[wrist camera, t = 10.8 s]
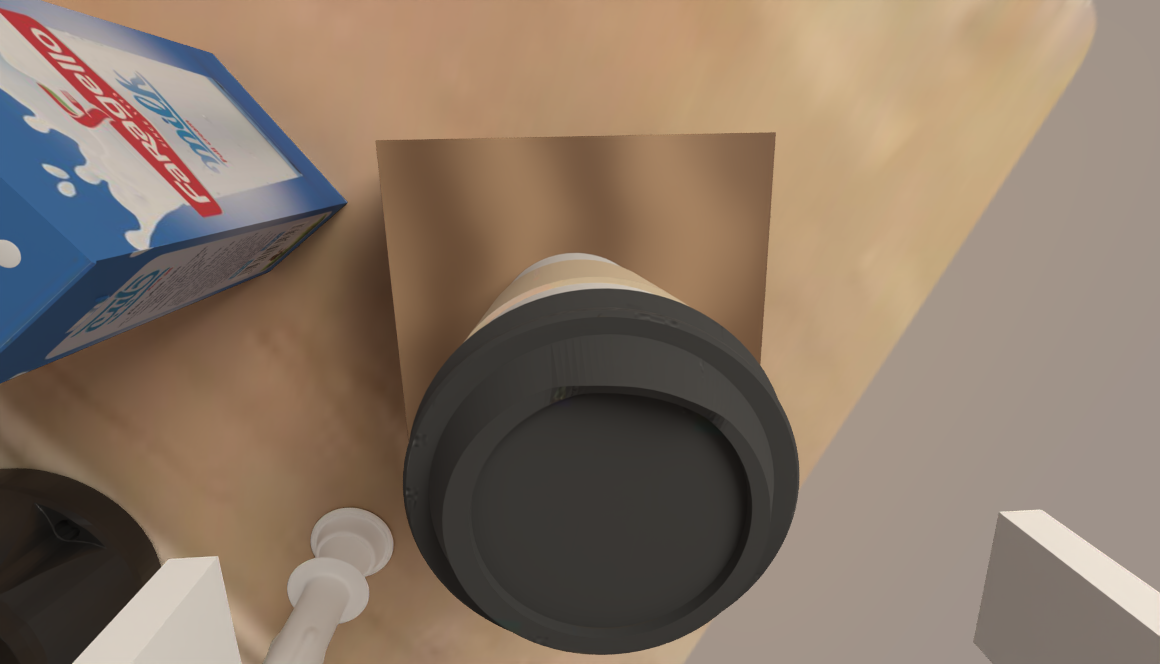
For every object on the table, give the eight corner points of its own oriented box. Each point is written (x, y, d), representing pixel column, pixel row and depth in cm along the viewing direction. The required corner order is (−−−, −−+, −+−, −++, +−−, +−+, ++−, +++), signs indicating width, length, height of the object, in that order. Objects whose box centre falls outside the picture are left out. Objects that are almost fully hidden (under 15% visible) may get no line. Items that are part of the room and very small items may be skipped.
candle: (410, 543, 40) (357, 698, 29) (354, 589, 41) (280, 758, 30) (351, 491, 39) (270, 631, 28) (294, 539, 40) (191, 696, 28)
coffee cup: (649, 440, 28) (758, 740, 14) (454, 405, 27) (352, 688, 13) (702, 250, 26) (901, 370, 11) (491, 203, 25) (414, 271, 10)
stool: (448, 412, 38) (415, 499, 28) (424, 145, 33) (375, 140, 24) (700, 402, 39) (752, 483, 29) (711, 139, 34) (775, 132, 24)
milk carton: (130, 130, 32) (-475, 92, 13) (211, 52, 32) (-309, -110, 12) (270, 272, 35) (-67, 415, 16) (349, 203, 34) (94, 265, 15)
